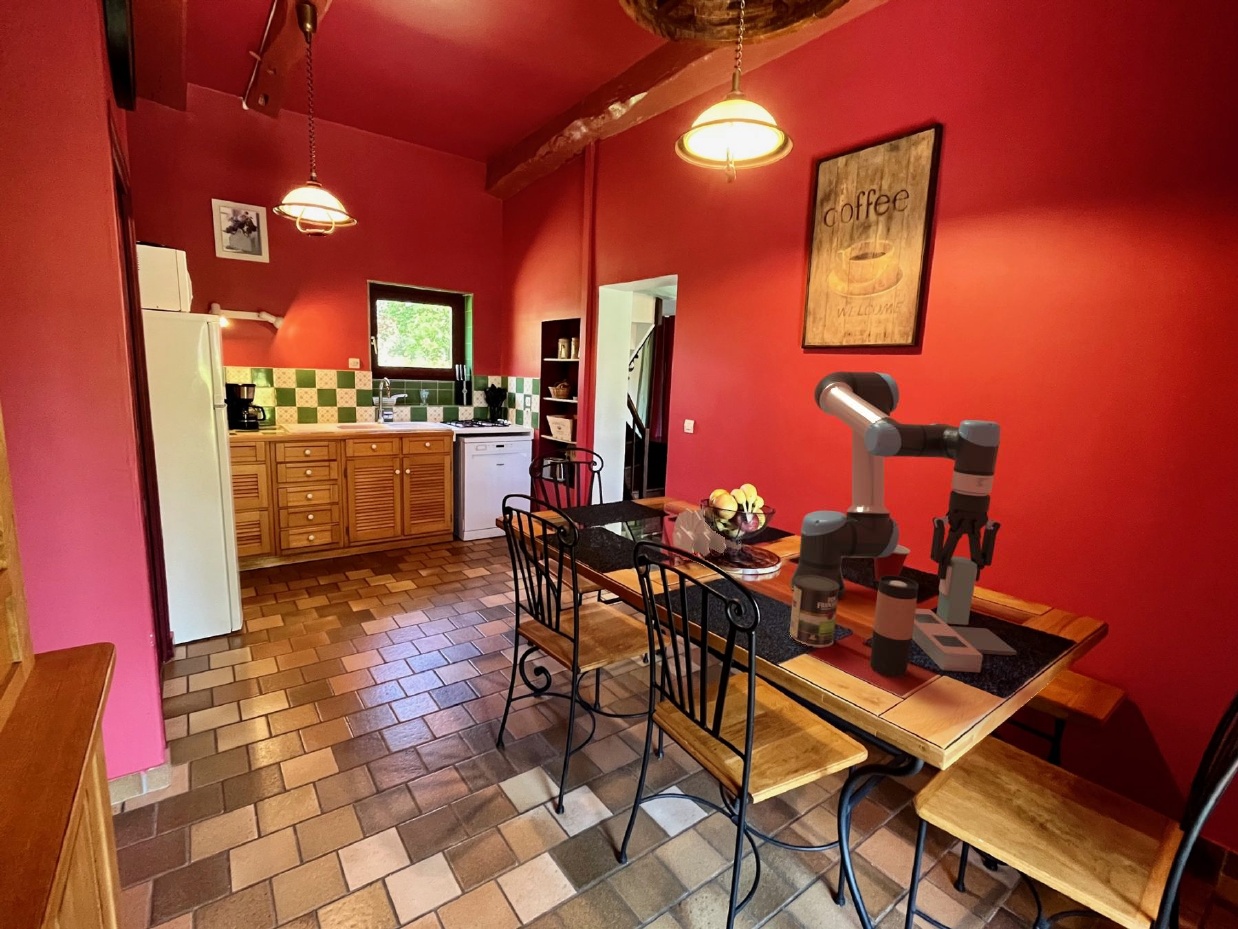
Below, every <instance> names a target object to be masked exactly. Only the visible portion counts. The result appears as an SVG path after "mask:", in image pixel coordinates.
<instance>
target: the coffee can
mask: <svg viewBox="0 0 1238 929" xmlns="http://www.w3.org/2000/svg"><path fill="white" fill-rule="evenodd" d="M839 588H840V586H839V584H838V583H837V582H835V581H833V580H831V579H829V578H825V577H821V576H815V575H801V576H797V577H795V578H794V591H793V590H792V591H793V593H792V601H791V602H792V605H791V616H790V625H789V626H790V627H789V632H790V635H791V637H793V638H794V639H795V640H796V641H798V642H801V643H802V644H806V645H807V646H806V645H805V646H806V647H810V646H813V647H812V648H821V649H822V648H828V647H830V646H832V645H833V644H834V641H835V640H834V638H835V637H834V636H835V628H836V620H837V618H836V617H837V607H838V601H839V599H838V592H839ZM790 635H789V636H790ZM791 637H790V638H791ZM796 641H795V642H796ZM798 642H797V643H798ZM802 644H801V645H802Z"/></svg>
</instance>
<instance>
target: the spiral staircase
mask: <svg viewBox="0 0 1238 929" xmlns="http://www.w3.org/2000/svg"><path fill="white" fill-rule="evenodd" d="M703 507H704V506H702V507H701V508H702V509H699V510H694V511H692V510H691V509H690V508H685V511H682V512H679V513H678V516H677V517H676V520H675V522H674V524H673V525H674V526H673V532H672V535H671V536H672V542H673V547H674V546H675V547H678V548H681V549H684V550H686V551H688V552H690V553H694V551H695V552H698V553H701V554H703V556H706V557H707V555H709V553H710V551H709V548H710V549H713V550H715V551H717V552H719V553H723V554H724V552H725V551H724V550H725V549H726V548H727V547H726V546H729V547H731V548H733V549H737V550H738V551H739V550H740V549H741V548H742V544H741V541H740V542H739V543H740V544H738V545H736V544H735V543H734V542H731V541H730V540H725V537H723V536H721V535H720V534H718V533H716V531H713V530H712V529H711V528H710V526H709V525H708V524H707V523H706V522H705V518H704V517H703Z"/></svg>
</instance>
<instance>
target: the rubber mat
mask: <svg viewBox="0 0 1238 929" xmlns="http://www.w3.org/2000/svg"><path fill="white" fill-rule="evenodd" d="M950 627H951V628H952V629H953V630H954V631H955V632H956V633H958V634H959V635H960V636H961V637H962V638H963V639H965V640H966V641H967V642H968V643H969V644H970V645H971V646H973V647H974V648H975V649H976V650H977V651H978V652H980V653H981V654H982V655H983V654H985V655H995V654H996V655H995V656H997V655H998V656H999V655H1000V656H1012V655H1016V656H1017V654H1018V653H1017V651H1016V649H1014V648H1013V647H1011V646H1010V645H1009V644H1007V643H1006V642H1005V641H1004V640H1002V639H1001V638H1000V637H999V636H997V635H996V634H994V633H993V632H992V631H991V630H989V629H988V628H983V627H965V626H950Z"/></svg>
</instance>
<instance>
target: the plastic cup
mask: <svg viewBox="0 0 1238 929" xmlns="http://www.w3.org/2000/svg"><path fill="white" fill-rule="evenodd" d="M910 553H911V550H910V549H909V548H908V547H905V546H902V545H900V544H897V547H896V548H895V550H894V551H893V552H892V554H890V555H889V556H887V557H879V558H873V561H874V563H873V564H874V572H875V573H874V574H875V582H876V581H877V582H879V579H880V577H882V576H888V575H891V576H900V575H901V572H902V569H903V568H904V563H905V561H906V559H907V557H908V555H909V554H910ZM877 582H876V583H877Z"/></svg>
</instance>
